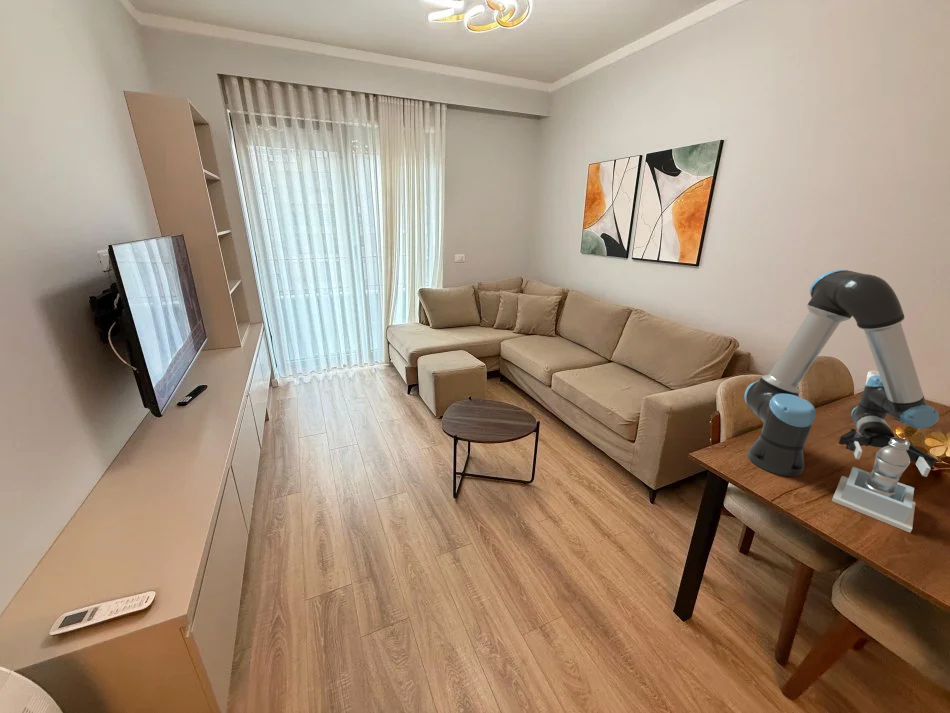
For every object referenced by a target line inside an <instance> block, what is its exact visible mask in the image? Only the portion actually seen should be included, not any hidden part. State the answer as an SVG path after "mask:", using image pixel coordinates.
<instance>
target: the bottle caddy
mask: <svg viewBox="0 0 950 713" xmlns="http://www.w3.org/2000/svg"><path fill="white" fill-rule="evenodd" d="M871 473H872V472H870V471H866V470H863V469H861V468H859V467H858V468H857V467H855V466H852V468H851V471H850V473H849V475H848V477H847V476H844V475H841V477H840V480H839V481H838V485H837V487H836V489H835V492H834V494H833V496H832V499H831V502H833V503H835V504H838V505H840V506H843V507H846V508H847V509H850V510H853V511H856V512H857V513H860V514H863V515H866V516H868V517H870V518H873V519H875V520H877V521H880V522H883V523H884V524H888V525H889V526H892V527H895V528H897V529H899V530H902V531H905V532H908V533H911V532H912V530H913V524H914V518H915V517H914V515H915V507H916V502H915V501H914V495H915V494H914V493H915V492H914V491H915V487H913V486H911V485H906V484H904V483H901V482H899V481H898V483H897V486H896V490H895V497H894V499H892V498H889V497H887V496H884V495H881V494H878V493H876V492H873V491H870V490H868V489H865V488H862V486H863V485H864V483H865V482H866V481H867V479H868V478H869V476H870V474H871Z"/></svg>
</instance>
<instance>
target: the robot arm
mask: <svg viewBox="0 0 950 713" xmlns="http://www.w3.org/2000/svg"><path fill="white" fill-rule="evenodd" d="M809 295H810V300H809V301H808V303H807V304H806V307H807V309H808V312H807V315H806V316H805V318H804V320H803V321H802V322H801V323H800V324H801V325H800V326H799V327H798V329H797V330H796V332H795V333H794V335H793V337H792V338H791V339H790V341H789V342H788V344H787V346H786V347H785V349H784V351H783V352H782V354H781V355H780V356H779V359H778V360H777V361H776V363H775V364H774V366H773V367H772V369H771V371H770V372H769V374H764V375H762V376H761V377H760V379H759V380H756V381H754V382H752V383H750V384H749V385H748V386H747V387H746V388H745V392H744V397H743V398H744V401H745V403H746V405H747V406H748V408H749V409H750V411H751V412H752V413H754V414H755V415H756V416H757V417H758V418H759V419H760V420H761V421H762V423H763V425H762V428H761V432H760V435H759V437H758V439H756V441H755V442H754V443H753V444H752V445H751V446H750V447H749V450H748V453H747V458H748V459H749V460H750V461H751V462H752V463H753V464H754V465H756V466H757V467H759V468H760V469H762V470H765V471H768V472H770V473H772V474H776V475H780V476H786V477H797V476H801V475H802V474H803V472H804V470H805V466H806V465H805V460H804V459H805V458H804V447H805V444H806V443H807V439H808V437H809V434H810V431H811V428H812V426H813V423H814V422H815V417H816V408H815V406H814V405H813V404H812V403H811V402H810V401H809V400H807V399H805V398H802V397H800V396H799V394H800V390H799V387H798V386H799V385H800V382H801V381H802V379H803V378H804V377H805V375H806V374H807V372H808V371H809V369H810V368H811V366H812V365H813V364H814V362H815V360H816V359H817V358H818V356H819V354H820V353H821V351H823V349H824V347H825V346H826V344H827V343H828V341H829V340H830V339H831V337H832V336H833V335H834V333H835V331H836V330H837V329H838V327H839V325H840V324H841V323H842V322H845V321H848V320H849V321H850V320H851V319H852V317H853V318H854V320H855V323H856V326H857V328H858V329H861V330H864V331H863V332H864V334H865V337H866V339H867V343H868V345H869V349H870V351H871V353H872V357H873V360H874V362H875V365H876V368H877V371H878V372H879V375H880V376H879V375H875V376H871V377H870V378H869V380H868V382H867V384H866V383H865V385H864V388H863V390H862V394H861V397H860V400H859V402H858V404H857V405H856V407H854V408H853V409H852V410H851V420H852V422H853V424H854V425H855V426H854V427H856V429H857V430H856V429H855V428H850V430H849V432H846V433H844V434H843V435H841V436H840V438H839V441H838V444H839V445H843V446H844V445H846V446H845V449H846V450H849V451H851V452H853V455H854V459H856V460H860V458H861V456H862V454H863V450H862V446H865V447H869V446H870V447H875V448H883V447H885V446H888V445H889V444H888V443H889V441H890V439H891V438H892V437H895V434H894V432H893V430H892V429H891V426H890V425H889V424H888V423H887V417H888V415H890V416H891V417H893V418H894V417H895V418H896V419H895V418H894V419H895V420H897V419H898V420H897V421H900V422H901V423H902V424H905V425H907V426H909V427H911V428H913V429H918V430H919V429H920V430H922V429H927V428H930V427H932V426H934V425H935V424H936V423H937V422H938V421H939V418H940V414H939V412H938V411H937V409H936V408H934V407H933V406H931V405H930V404H928V403H927V402H926V399H925V395H924V392H923V389H922V386H921V383H920V380H919V376H918V374H917V371H916V367H915V363H914V360H913V358H912V354H911V350H910V349H909V345H908V342H907V338H906V335H905V332H904V329H903V325H902V322H903V321H905V317H906V316H905V314H904V311H903V309H902V305H901V303H900V300H899V297H898V296H897V294H896V292H895V290H894V289H893V288H892V286H891V285H890V284H889V282H887V281H886V280H885V279H883V278H881V277H880V276H876V275H872V274H869V273H868V274H867V273H862V272H857V271H852V270H847V269H846V270H845V269H841V270H840V269H837V270H830V271H827V272H825V273H822V274H821V275H819V276H818V277H816V278H815V280H814V281H813V282H812V284H811V286H810V288H809ZM907 441H908V440H907ZM908 442H910V446H909V449H908V450H906V452H907V454H908V455H909V458H910V461H912V462H914V463H915V465H916V467H917V469H918V471H919V472H920V474H921V476H922V477H926V478H927V477H928V475H929V474H930V471H931V470H932V469H931V467H934V466H935V463H936V462H937V458H935V457H934V456H932V455H930V454H929V453H928V452H925V451H924V450H922V449H921V448H919V447H917V446H915V445H914V444H913V442H911V441H908Z"/></svg>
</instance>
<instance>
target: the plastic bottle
mask: <svg viewBox="0 0 950 713" xmlns="http://www.w3.org/2000/svg"><path fill="white" fill-rule="evenodd" d="M910 442H911V441H909V442H908V440H907V439H903V438H900V437H895V436H894V437H892V438H891V439H890V441H889V443H888V444H889V445H888V446H885V447H883V448H882V447H880V448H879V449H878V450H877V451H876V453H875V458H874V464H873V467H872V470H871V472H870V473H871V474H870V476H869V478H868V479H867V481H866V482H865V483H864V485H863V486H862V488H865V489H868V490H870V491H873V492H876V493H878V494H881V495H884V496H887V497H889V498H892V499H894V497H895V490H896V486H897V483H898V482H899V481H900V478H901V477H902V475H903V473H904V472H905V470H906V469H907V468H908V466H909V465H910V464H911V460H910V458H909V455H908V454H907V452H906V450H908V449H909V446H910Z"/></svg>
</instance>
